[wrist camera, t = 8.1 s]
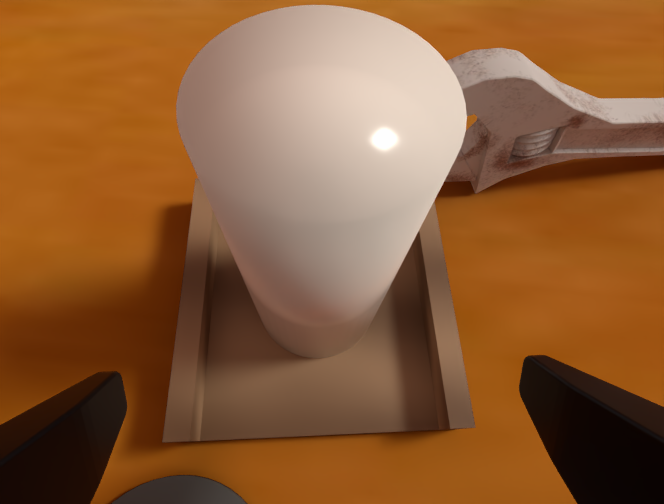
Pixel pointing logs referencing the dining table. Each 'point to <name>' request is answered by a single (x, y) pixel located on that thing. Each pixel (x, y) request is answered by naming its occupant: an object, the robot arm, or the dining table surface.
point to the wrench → (541, 120)
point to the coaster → (181, 492)
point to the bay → (312, 373)
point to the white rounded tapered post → (320, 160)
